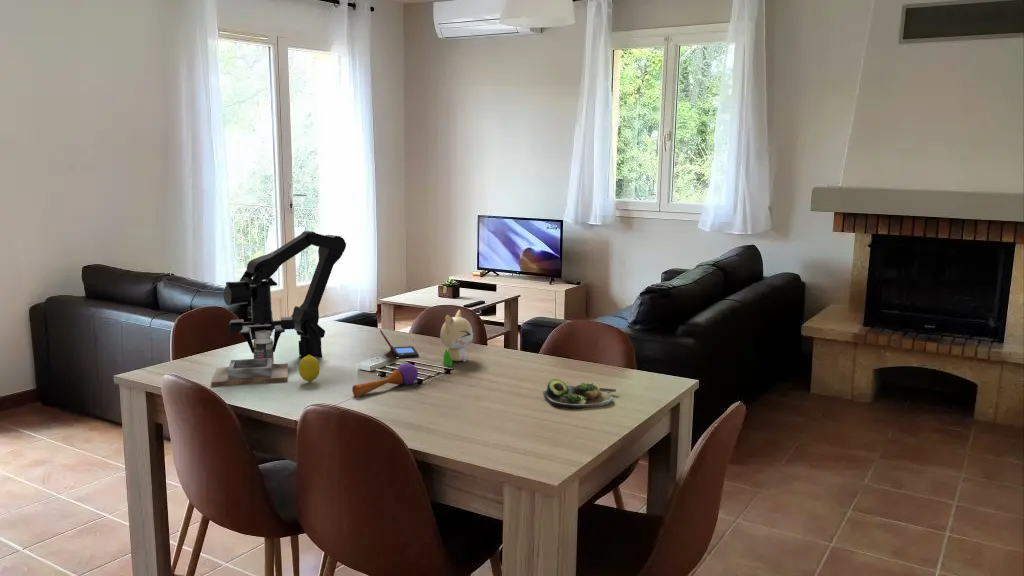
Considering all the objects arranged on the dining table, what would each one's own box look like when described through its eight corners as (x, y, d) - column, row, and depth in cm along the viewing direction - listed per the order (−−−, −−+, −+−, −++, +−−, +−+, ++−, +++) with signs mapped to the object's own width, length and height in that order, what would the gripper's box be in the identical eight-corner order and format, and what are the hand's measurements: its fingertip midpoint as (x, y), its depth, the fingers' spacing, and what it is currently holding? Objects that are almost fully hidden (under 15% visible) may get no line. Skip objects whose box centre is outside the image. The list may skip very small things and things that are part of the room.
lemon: (324, 381, 224) (323, 353, 223) (311, 386, 220) (310, 357, 218) (308, 379, 227) (307, 351, 226) (295, 384, 222) (294, 355, 221)
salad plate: (605, 387, 220) (606, 371, 219) (629, 407, 203) (629, 389, 202) (536, 392, 216) (537, 375, 215) (555, 412, 198) (555, 394, 198)
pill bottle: (250, 365, 242) (248, 332, 241) (262, 360, 247) (260, 329, 246) (265, 366, 240) (264, 334, 239) (277, 362, 245) (276, 330, 244)
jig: (287, 367, 240) (287, 355, 239) (287, 381, 225) (286, 368, 224) (216, 371, 235) (216, 359, 234) (211, 386, 219) (210, 373, 219)
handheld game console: (419, 358, 252) (419, 334, 251) (384, 360, 249) (384, 336, 248) (413, 349, 264) (412, 326, 263) (379, 351, 261) (379, 328, 260)
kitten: (462, 368, 239) (462, 318, 237) (431, 365, 242) (430, 316, 240) (480, 356, 253) (480, 309, 251) (451, 354, 256) (450, 307, 254)
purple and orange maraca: (347, 380, 212) (406, 360, 226) (352, 402, 212) (410, 381, 226) (360, 380, 208) (419, 360, 222) (364, 402, 208) (424, 381, 222)
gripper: (293, 295, 251) (295, 344, 253) (230, 298, 246) (232, 348, 249) (293, 301, 240) (295, 353, 243) (227, 304, 235) (230, 356, 238)
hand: (263, 352), depth 243 cm, fingers closed on pill bottle, 6 cm apart
